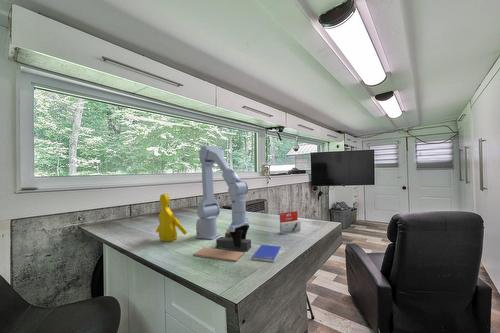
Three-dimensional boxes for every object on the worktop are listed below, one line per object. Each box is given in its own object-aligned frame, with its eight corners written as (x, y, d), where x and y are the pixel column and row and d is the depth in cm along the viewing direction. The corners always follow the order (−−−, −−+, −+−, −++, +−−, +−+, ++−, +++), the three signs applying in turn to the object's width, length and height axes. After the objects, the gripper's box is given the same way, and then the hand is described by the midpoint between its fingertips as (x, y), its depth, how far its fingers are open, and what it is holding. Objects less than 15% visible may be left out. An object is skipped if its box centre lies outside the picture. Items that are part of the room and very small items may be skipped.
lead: (216, 248, 89) (216, 239, 89) (221, 244, 93) (220, 236, 93) (247, 251, 84) (247, 242, 84) (251, 248, 87) (250, 239, 87)
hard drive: (274, 258, 73) (280, 246, 85) (251, 256, 76) (261, 244, 88) (274, 263, 73) (280, 250, 85) (251, 260, 76) (261, 248, 87)
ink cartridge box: (301, 231, 108) (300, 211, 109) (282, 234, 104) (281, 214, 104) (297, 229, 111) (297, 210, 111) (279, 233, 106) (279, 213, 106)
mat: (193, 255, 81) (193, 253, 81) (203, 249, 88) (203, 247, 88) (236, 261, 74) (236, 259, 74) (244, 254, 81) (244, 252, 81)
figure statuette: (189, 238, 102) (188, 192, 102) (179, 244, 94) (178, 194, 95) (159, 236, 107) (157, 192, 108) (147, 241, 100) (146, 194, 100)
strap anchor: (225, 242, 95) (225, 233, 95) (231, 237, 101) (231, 229, 101) (235, 243, 93) (235, 233, 93) (241, 238, 99) (240, 230, 99)
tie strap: (226, 233, 94) (225, 226, 94) (238, 225, 106) (238, 220, 106) (232, 233, 93) (231, 227, 93) (244, 226, 105) (243, 220, 105)
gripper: (240, 215, 79) (241, 252, 79) (254, 208, 92) (255, 240, 92) (223, 214, 82) (224, 250, 81) (239, 207, 95) (240, 238, 95)
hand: (239, 244), depth 87 cm, fingers closed on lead, 4 cm apart
